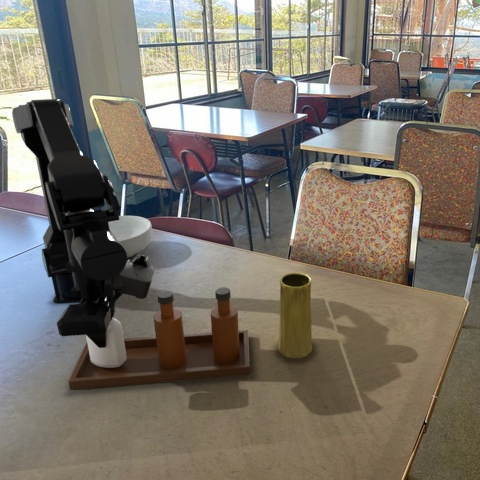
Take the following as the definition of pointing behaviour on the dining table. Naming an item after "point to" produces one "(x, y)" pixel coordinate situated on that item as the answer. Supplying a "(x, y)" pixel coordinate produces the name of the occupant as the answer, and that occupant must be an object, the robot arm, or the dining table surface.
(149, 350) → the tray
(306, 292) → the vase
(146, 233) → the cereal bowl
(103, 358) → the eye dropper bottle
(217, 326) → the amber bottle
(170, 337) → the amber bottle
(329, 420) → the dining table surface
